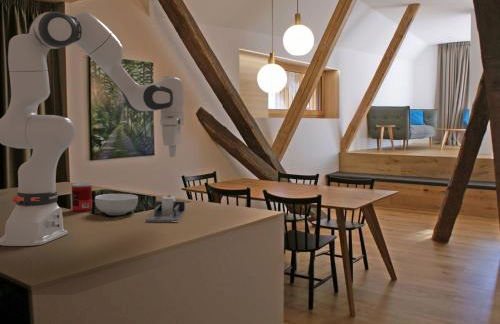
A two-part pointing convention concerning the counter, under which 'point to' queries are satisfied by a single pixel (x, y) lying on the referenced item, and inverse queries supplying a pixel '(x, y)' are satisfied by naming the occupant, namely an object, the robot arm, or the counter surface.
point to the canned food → (81, 197)
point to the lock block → (168, 204)
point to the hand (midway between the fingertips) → (172, 156)
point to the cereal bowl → (116, 203)
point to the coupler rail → (166, 217)
